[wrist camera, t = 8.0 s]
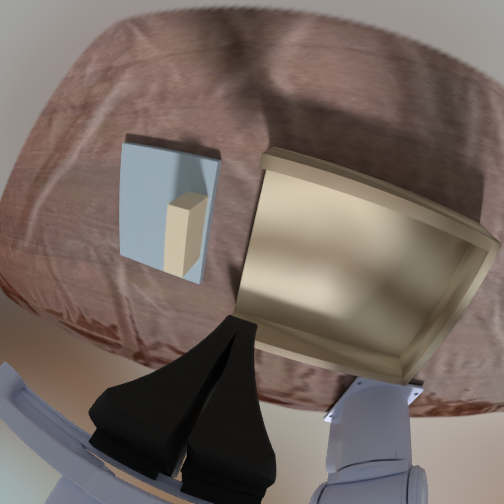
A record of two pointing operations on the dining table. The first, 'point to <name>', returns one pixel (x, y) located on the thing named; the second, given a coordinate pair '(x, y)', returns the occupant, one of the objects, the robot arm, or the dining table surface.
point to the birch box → (356, 269)
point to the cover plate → (167, 208)
